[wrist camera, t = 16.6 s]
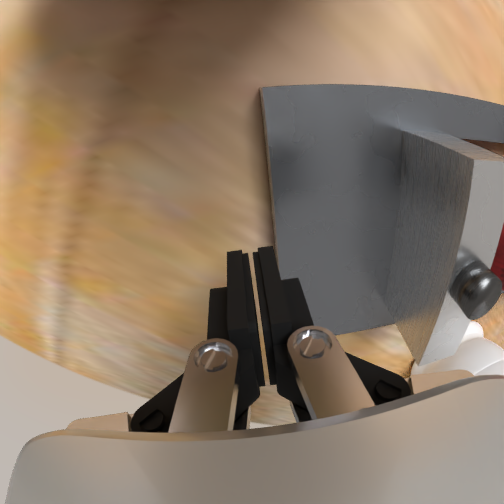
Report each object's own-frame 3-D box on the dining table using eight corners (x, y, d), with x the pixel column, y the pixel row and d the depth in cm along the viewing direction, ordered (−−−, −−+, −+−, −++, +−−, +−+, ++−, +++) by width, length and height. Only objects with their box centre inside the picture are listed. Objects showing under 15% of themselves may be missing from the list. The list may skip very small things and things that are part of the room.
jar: (405, 334, 21) (480, 504, 8) (498, 294, 20) (584, 418, 7) (394, 398, 26) (436, 520, 13) (473, 363, 25) (525, 466, 12)
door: (384, 303, 17) (427, 385, 11) (402, 130, 12) (498, 171, 6) (417, 296, 17) (464, 370, 11) (442, 132, 12) (536, 173, 6)
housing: (281, 326, 19) (296, 413, 13) (259, 87, 12) (280, 85, 6) (517, 275, 19) (557, 320, 13) (549, 119, 12) (611, 147, 6)
